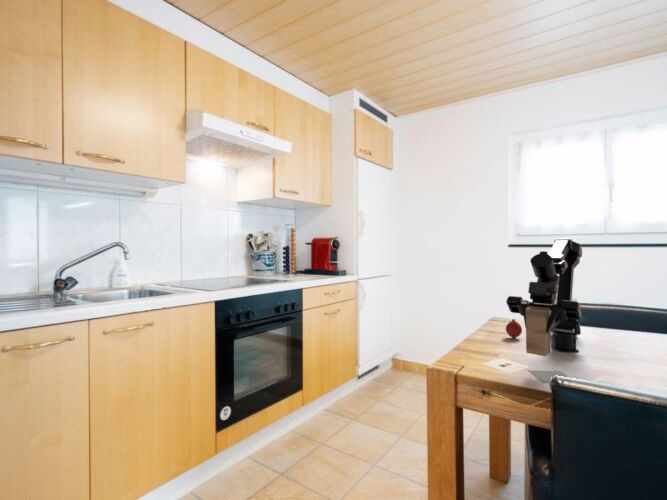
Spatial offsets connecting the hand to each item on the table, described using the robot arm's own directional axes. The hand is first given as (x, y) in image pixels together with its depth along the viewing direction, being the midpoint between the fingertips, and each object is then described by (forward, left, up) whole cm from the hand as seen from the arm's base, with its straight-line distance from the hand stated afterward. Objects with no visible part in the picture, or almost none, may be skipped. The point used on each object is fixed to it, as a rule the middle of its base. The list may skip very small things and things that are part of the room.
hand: (536, 330), depth 99 cm
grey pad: (-3, +1, -13) cm, 14 cm away
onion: (-9, -41, -14) cm, 44 cm away
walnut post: (-1, -1, -7) cm, 7 cm away
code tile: (+6, -8, -13) cm, 17 cm away
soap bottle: (-30, -46, -14) cm, 57 cm away
